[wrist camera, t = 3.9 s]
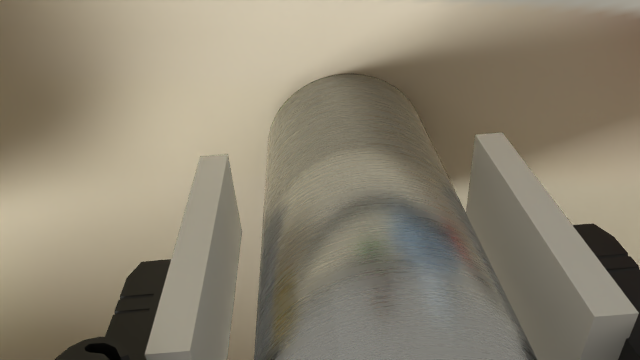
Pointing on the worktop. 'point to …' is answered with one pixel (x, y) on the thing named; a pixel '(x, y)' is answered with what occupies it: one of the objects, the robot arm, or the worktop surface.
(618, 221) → the worktop surface
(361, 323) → the pipe stub
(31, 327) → the worktop surface
